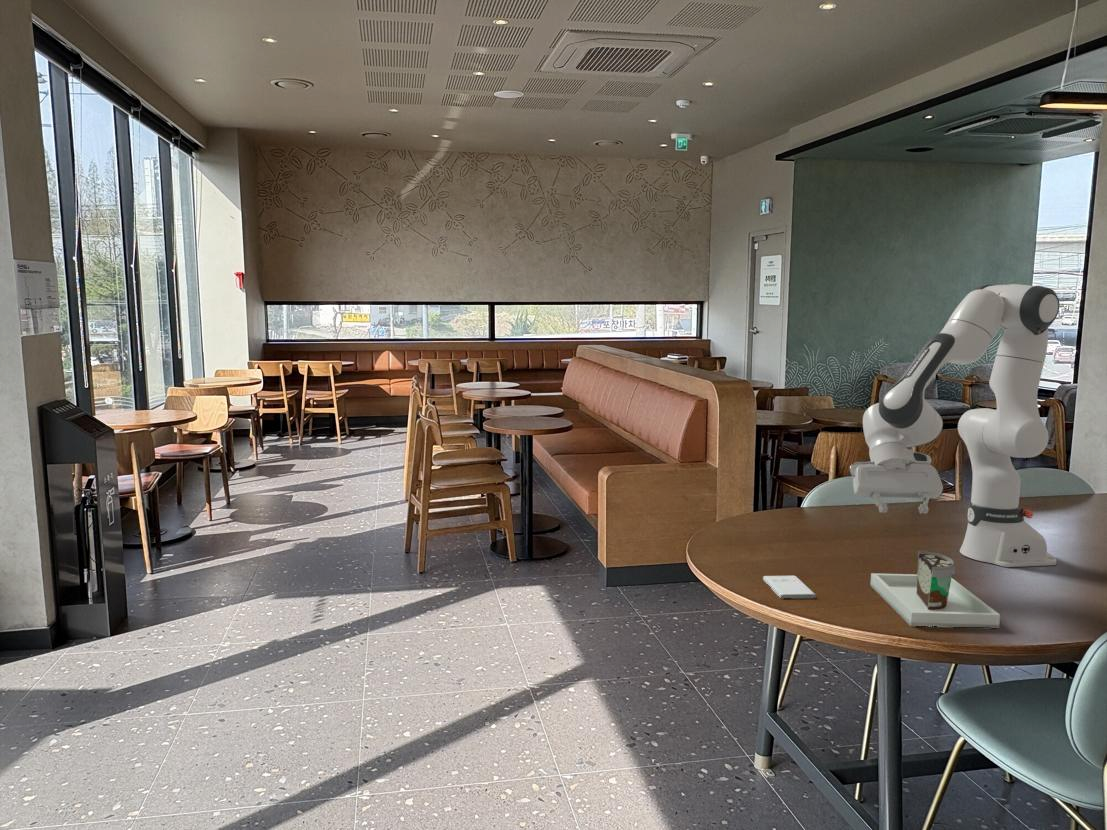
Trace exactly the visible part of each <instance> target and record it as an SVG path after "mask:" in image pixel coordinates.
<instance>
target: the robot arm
mask: <svg viewBox="0 0 1107 830" xmlns="http://www.w3.org/2000/svg"><path fill="white" fill-rule="evenodd" d="M1059 311H1060V299H1059V297H1058V295H1057V293H1056V291H1055V290H1054V289H1051V288H1049V287H1046V286H1042V285H1031V284H1030V285H1029V284H1021V283H1019V284H1018V283H1010V284H996V285H994V284H984V285H980V286H978V287H976V288H974V289H973V290H972V291H970V292H969V293H968V294H966V295H965V296H964V298H963V299H962V300H961V301H960V303H959V304H958V305H957V306H956V308H955V309H954V311H952V314H951V315H950V317H949V318H948V319H947V321H946V323H945V325H944V327H943V328H942V329H941V331H940V332H939V333H937V334H935V335H933V336H932V337H931V338H929V339H928V340H927V341H926V343H924V345H923V346H922V348H921V349H920V350H919V351H918V353H917V354H916V355H915V357H914V358H913V360H912V361H911V362H910V363H909V365H908V366H907V368H906V369H905V371H904V372H903V373H902V374H901V376H900V377H899V378H898V379H897V381H896V382H894V383H893V385H891V386H890V387H889V388H888V389H887V390H886V391H885V392H884V393H883V394H882V396H881V397H880V400H879V402H877V403H874V404H872V405H870V406H869V407H868V408H866V409H865V411H864V413H863V415H862V429H863V434H864V435H863V436H864V439H865V443H866V445H867V447H868V455H869V459H870V461H855V462H854V463H851V464H850V466H849V472H850V475H851V476H852V484H853V486H852V487H853V492H854V495H855V496H856V497H858V498H870V499H871V502H872V503H873V504H874V505H875V507H878V512H879V513H882V514H883V513H885V514H887V512H888V511H889V507H888V503H886V502H883V501H882V500H881V498H882V499H885V498H886V499H919V500H920V502H921V503H920V504H919V506H918V507H917V508H918V512H919V514H928V512H929V510H930V509H929V507H928V504H929V501H930V499H935V500H936V499H938V498H939V497H940V495H941V494H942V493H943V490H944V486H943V482H942V480H941V477H940V475H939V473H938V470H937V469H936V468H935V467H934V465H931V464H932V457H931V456H930V455H929V454H925V453H922V452H918V451H915V450H912V449H910V448H914V447H919V446H922V445H926V444H928V443H931V442H933V441H934V440H935V439H937V438H938V437H939V435H940V434H941V432H942V431H943V426H944V423H943V422H944V421H943V419H942V416H941V415H940V414H939V413H938V411H936V409H935V408H934V407H933V406H932V405H931V404H930V403H928V401H927V399H926V398H925V392H926V389H927V387H928V386H929V384H930V383H931V381H932V380H933V379H934V377H935V376H936V375H937V374H938V372H939V371H940V369H941V368H942V366H944V365H946V364H947V363H949V364H953V365H961V366H965V365H970V364H972V363H975V362H978V361H979V360H980V359H981V357H982V356H984V354H985V353H986V351H987V350H988V348H989V346H990V345H991V343H992V342H993V339H994V337H996V336H995V335H996V333H997V331H998V329H999V328H1000V329H1002V331H1003V334H1002V337H1001V338H1000V342H999V344H998V347H997V351H996V353H995V358H994V362H993V367H992V370H991V373H990V374H991V375H990V377H989V378H990V379H989V381H988V382H989V383H988V384H989V388H990V389H991V391H992V392H993V393H994V396H995V400H996V401H995V402H996V409H993V408H989V407H985V408H984V407H983V408H982V407H981V408H980V407H979V408H974V409H973V408H972V409H968V410H966V411H965V412H964V413H963V414H961V417H960V418H959V419H958V423H957V432H958V435H959V436H960V438H961V439H962V441H963V442H964V444H965V447H966V449H967V452H968V457H969V460H970V463H971V471H972V479H971V480H972V484H971V495H970V497H971V498H970V501H968V508H967V527H966V532H965V536H964V539H963V542H962V544H961V547H960V549H959V553H960V554H961V555H963V556H964V557H967V558H970V559H972V560H975V561H979V562H984V563H989V564H994V565H997V566H1000V567H1004V568H1017V567H1019V568H1020V567H1041V566H1042V567H1043V566H1044V567H1045V566H1056V565H1057V559H1056V558H1055V556H1054V555H1051V554H1050V553H1049V552H1048V546H1047V541H1046V539H1045V537H1044V535H1042V534H1041V533H1040V532H1039V531H1037V530H1036V529H1035V528H1034V527H1032V525H1030V524H1029V523H1028V522H1027V521H1025V518H1027V519H1032V518H1033V517H1034V512H1033V511H1031V510H1029V509H1028V508H1027V509H1025V508H1023V507H1021V506H1019V505H1020V503H1019V502H1020V492H1021V483H1022V480H1021V477H1020V475H1019V474H1020V473H1018V471H1017V470H1016V468H1015V466H1014V465H1013V462H1012V459H1011V457H1012V458H1019V459H1020V458H1024V459H1025V458H1026V459H1027V458H1030V459H1031V458H1035V457H1038V456H1039V455H1040V454H1042V453H1043V452H1044V451H1045V449H1046V447H1047V446H1048V443H1049V431H1048V429H1047V427H1046V425H1045V424H1044V423H1043V421H1042V418H1041V416H1040V411H1039V405H1038V393H1039V392H1038V391H1039V385H1040V383H1041V382H1040V381H1041V377H1042V374H1043V373H1042V372H1043V369H1044V365H1045V361H1046V357H1047V356H1046V355H1047V352H1048V351H1047V350H1048V343H1049V342H1048V340H1049V327H1050V326H1051V325H1052V324H1053V322H1055V320H1056V319H1057V316H1058V314H1059ZM922 502H923V503H922Z"/></svg>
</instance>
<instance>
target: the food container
mask: <svg viewBox="0 0 1107 830" xmlns="http://www.w3.org/2000/svg"><path fill="white" fill-rule="evenodd" d="M916 559H917V571H916V572H917V573H916V574H917V592H916V594H917V596H918V597H919V598H920V600H921V601H922V602H923V604H924V605H925V606H926V608H927V609H928V610H938V609H943V608H945V607H946V606H947V600H948V594H949V589H950V583H951V578H952V576H953V575H955V574H956V573H957V572H956V565H955V563H954V560H953V559H952V558H950V557H948V556H946V555H944V554H941V553H937V552H932V551H924V550H918V552H917V558H916Z"/></svg>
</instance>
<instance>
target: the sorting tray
mask: <svg viewBox="0 0 1107 830" xmlns="http://www.w3.org/2000/svg"><path fill="white" fill-rule="evenodd" d="M870 587H871V588H872V589H873V590H874V591H875V592H876V593H877V594H878V595H879V596H880V597H881V598H882V599H883V600H884V601H885V602H886V603H887V604H888V605H889V606H890V607H891V608H892V609H893V610H894V611H895V612H896V613H897V614H898V615H899V616H900V617H901V618H902V619H903V620H904V621H905V622H906V623H907V624H908V625H909V626H910V627H916V626H926V627H925V628H935V627H934V626H937V627H936V628H953V627H990V628H989V629H991V628H999V629H1000V623H1001V622H1000V620H1001V614H1000V613H998V612H997V611H996V610H995V609H993V608H992V607H991V606H990V605H988V604H987V603H986V602H984V601H982V600H981V599H980V598H979V597H977V596H976V595H975V594H974V593H972V591H970V590H969V589H967V588H966V587H964V586H963V585H962V584H961V583H959V582H958V581H957V580H955V579H954V578H952V577H951V583H950V589H949V594H948V600H947V606H946V607H945V608H943V609H938V610H928V609H927V608H926V606H925V605H924V604H923V602H922V601H921V600H920V598H919V597H918V596H917V594H916V592H917V573H916V574H914V573H913V574H911V573H910V574H909V573H907V574H906V573H905V574H904V573H874V572H872V573H870ZM927 626H928V627H927ZM932 626H933V627H932ZM950 626H951V627H950Z"/></svg>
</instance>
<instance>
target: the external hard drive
mask: <svg viewBox="0 0 1107 830" xmlns="http://www.w3.org/2000/svg"><path fill="white" fill-rule="evenodd" d="M762 580H763V582H764V583H766V585H767V584H768V585H769V586H770V587H771V588H770V587H769V586H768V585H767V586H768V587H769V588H770V589H771V590H772V591H773V592H774V593H775V595H777V597H778V596H779V597H780V598H783V599H784V598H791V599H816V596H817V595H816V594H815V593H814V592H813V590H811V589H810V588H809V587H808V586H807V585H806V584H805V583H804V582H803V581H802V580H801V579H799V578H798V577H797V576H796V575H764V576H762ZM779 597H778V598H779ZM780 598H779V599H780ZM791 599H790V600H791Z"/></svg>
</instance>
